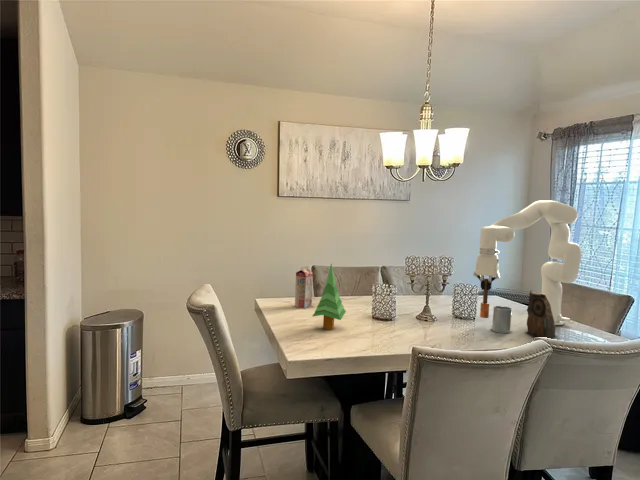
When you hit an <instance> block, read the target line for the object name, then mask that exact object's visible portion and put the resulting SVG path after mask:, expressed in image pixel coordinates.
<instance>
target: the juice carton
mask: <svg viewBox="0 0 640 480" xmlns="http://www.w3.org/2000/svg"><path fill="white" fill-rule="evenodd" d="M313 280H314V273H313V271H312V270H311V269H309V266H308V265H306V266H301V267H300V270H298V271H296V272H295V289H294V307H296V308H300V309H307V308H311V307H312V306H313V305H312V304H313V282H314V281H313Z"/></svg>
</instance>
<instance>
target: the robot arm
mask: <svg viewBox="0 0 640 480" xmlns="http://www.w3.org/2000/svg"><path fill="white" fill-rule="evenodd" d="M578 217H579V212H578V210H577V209H576V207H574V206H571V205H569V204H565V203H562V202H560V201H557V200H551V199H549V200H547V199H546V200H544V199H543V200H536V201H534V202H532V203H531V204H529V205H528V206H526V207H525V208H523V209H521V210H520V211H518V212H516V213H514V214H511V215H508V216H506V217H502V218H500V219H499V220H497V221H495V222H493V223H492V224H490V225H489V226H482V227H481V228H480V238H479V239H480V240H479V253H478V254H477V257H476V263H475V270H474V272H473V276H474V277H476V278H477V279H478V280H479V281H480V289H481V291H484V278H485V276H487V277H488V279H489V281H488V283H487V290H488V292H490V291H491V290H492V285H493V284H492V283H493V282H494V281H495V280H498V279H500V278H501V276H500V261H499V255H497V254H500V252H501V251H500V250H498V249H497V246H498V242H500V243H509V242H511V241H513V240H514V239H515V236H516V235H515V230H522V229H527V228H529V227H531V226H532V225H534V224H535V223H537V222H538V221H540V220H541V219H543V218H544V219H545V221H546V222H547V223H548V224H549V226H550V230H551V233H550V240H549V245H548V251H547V254H548V257H549V258H551V259H554V260H559V261H563V262H558V261H546V262H544V263H543V264H542V266H541V269H540V273H541V274H540V275H541V294H544V295H545V296H546V298H547V299H548V301H549V303H550V306H551V311H552V314H553V318H554V323H555V326H563V325H564V322H566V323H571V318H569V317H564V316H563V315H562V300H563V289H564V288H563V285H562V283H563V284H564V283H565V284H572V283H574V282H575V281H576V279H577V278H578V275H579V271H580V265H581V261H582V256H583V255H582V254H583V253H582V248H581V246H580V245H579V244H578V243H576V242H572V241H570V236H571V229H570V227H569V225H571V224H575V222H576V221H577V220H578V219H579V218H578Z"/></svg>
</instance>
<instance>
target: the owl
mask: <svg viewBox="0 0 640 480" xmlns="http://www.w3.org/2000/svg"><path fill="white" fill-rule="evenodd" d="M526 312H527V319H526V328H527V331H526V334H527V335H529V336H531V337H532V338H535V337H547V338H550V339H552V338H554V337H556V325H555V323H554V318H553V314H552V311H551V306H550V303H549V301H548V299H547V298H546V296H545V295H544V294H542V292H541V293H540V292H537V291H534V290H530V291H529V296H528V305H527V308H526Z"/></svg>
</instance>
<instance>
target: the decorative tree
mask: <svg viewBox="0 0 640 480" xmlns="http://www.w3.org/2000/svg"><path fill="white" fill-rule="evenodd" d="M336 283H337V280H336V277H335V273H334V267H333V263H330V266H329V270H328V273H327V277H326V281H325V285H324V289H323V291H322V295H321V297H320V300H319V303H318V304H317V307H316V308H315V311H314V313H313V314H312V317H317V316H323V318H322V319H323V322H322V327H323V328H322V329H323V330H326V331H331V330H334V328H335V319H336V320H338V321H342V319H343V318H344V315H345V314H346V312H347V311H346V309H345V306H344V304H343V301H342V299H341V296H340V294H339V290H338V287H337V285H336Z"/></svg>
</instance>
